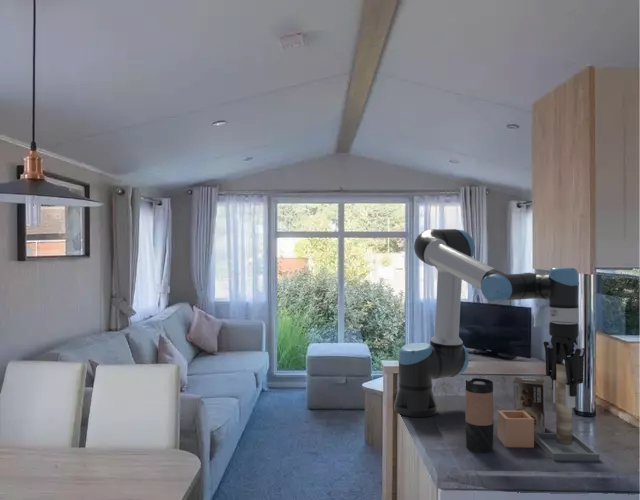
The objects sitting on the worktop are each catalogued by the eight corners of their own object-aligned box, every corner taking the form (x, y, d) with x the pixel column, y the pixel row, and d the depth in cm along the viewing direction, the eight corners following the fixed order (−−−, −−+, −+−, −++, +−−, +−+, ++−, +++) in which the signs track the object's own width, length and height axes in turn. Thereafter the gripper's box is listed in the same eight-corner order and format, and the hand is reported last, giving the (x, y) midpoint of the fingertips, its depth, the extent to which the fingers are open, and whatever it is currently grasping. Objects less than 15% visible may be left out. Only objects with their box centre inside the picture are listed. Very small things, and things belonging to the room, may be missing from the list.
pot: (497, 440, 160) (497, 410, 160) (524, 440, 160) (524, 410, 160) (505, 450, 152) (505, 419, 152) (534, 450, 152) (533, 419, 152)
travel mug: (495, 457, 147) (494, 385, 147) (466, 455, 148) (466, 384, 148) (491, 447, 154) (491, 378, 154) (464, 445, 156) (464, 377, 156)
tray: (532, 441, 159) (532, 432, 159) (573, 442, 158) (573, 433, 158) (553, 463, 143) (553, 453, 143) (599, 464, 142) (599, 454, 142)
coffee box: (545, 430, 168) (545, 379, 168) (544, 437, 163) (544, 384, 163) (514, 426, 172) (514, 376, 172) (512, 432, 166) (512, 381, 166)
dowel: (554, 439, 152) (553, 363, 152) (568, 439, 152) (568, 363, 152) (559, 444, 148) (559, 366, 148) (574, 445, 148) (574, 366, 148)
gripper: (531, 319, 157) (532, 398, 157) (576, 327, 141) (577, 415, 141) (552, 317, 159) (552, 395, 159) (598, 325, 143) (599, 412, 143)
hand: (564, 404), depth 150 cm, fingers closed on dowel, 4 cm apart
